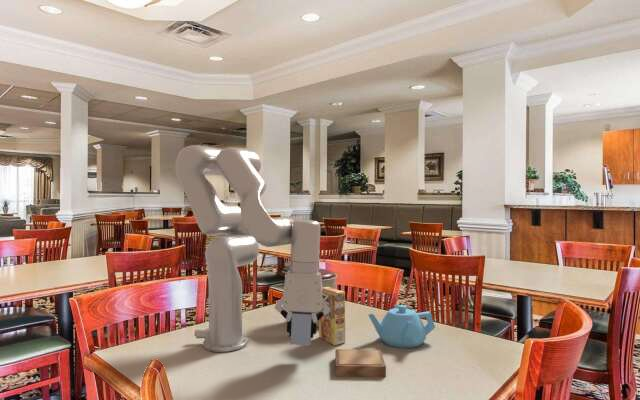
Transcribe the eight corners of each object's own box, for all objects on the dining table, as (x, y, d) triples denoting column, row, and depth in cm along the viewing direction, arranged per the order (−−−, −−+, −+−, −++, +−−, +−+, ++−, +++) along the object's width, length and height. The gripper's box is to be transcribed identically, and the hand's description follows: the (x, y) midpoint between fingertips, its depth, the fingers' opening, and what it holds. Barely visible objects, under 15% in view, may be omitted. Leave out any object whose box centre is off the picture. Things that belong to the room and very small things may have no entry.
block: (290, 344, 108) (292, 313, 108) (292, 337, 113) (293, 308, 113) (309, 345, 108) (311, 314, 108) (310, 338, 113) (312, 309, 113)
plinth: (335, 376, 101) (336, 365, 101) (335, 358, 112) (335, 348, 112) (385, 376, 101) (385, 365, 101) (380, 359, 112) (380, 349, 112)
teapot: (409, 355, 115) (410, 316, 115) (366, 341, 126) (366, 305, 126) (437, 341, 126) (437, 305, 126) (395, 330, 137) (395, 297, 137)
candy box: (346, 343, 124) (346, 291, 124) (334, 345, 122) (334, 293, 122) (329, 335, 131) (329, 286, 131) (317, 337, 129) (317, 287, 129)
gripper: (269, 268, 106) (266, 339, 107) (337, 271, 106) (333, 342, 106) (273, 263, 114) (271, 329, 114) (336, 266, 113) (333, 332, 114)
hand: (301, 335), depth 110 cm, fingers closed on block, 5 cm apart
